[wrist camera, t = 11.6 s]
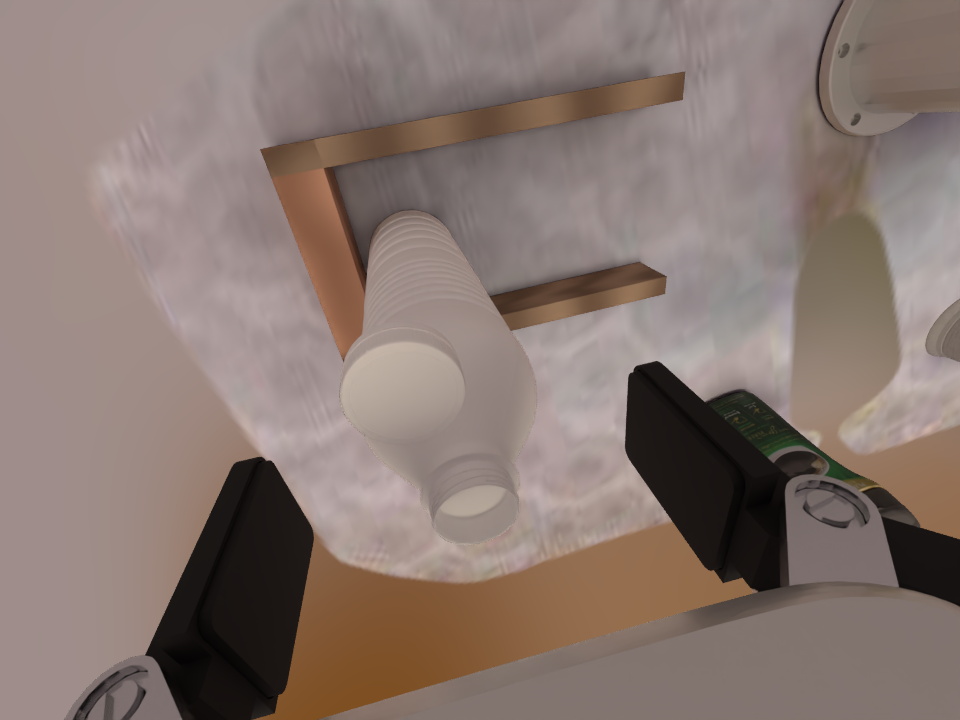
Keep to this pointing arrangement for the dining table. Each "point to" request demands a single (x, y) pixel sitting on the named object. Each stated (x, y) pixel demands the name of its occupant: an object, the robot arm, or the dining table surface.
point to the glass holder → (946, 334)
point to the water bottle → (439, 380)
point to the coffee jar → (799, 451)
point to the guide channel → (309, 163)
